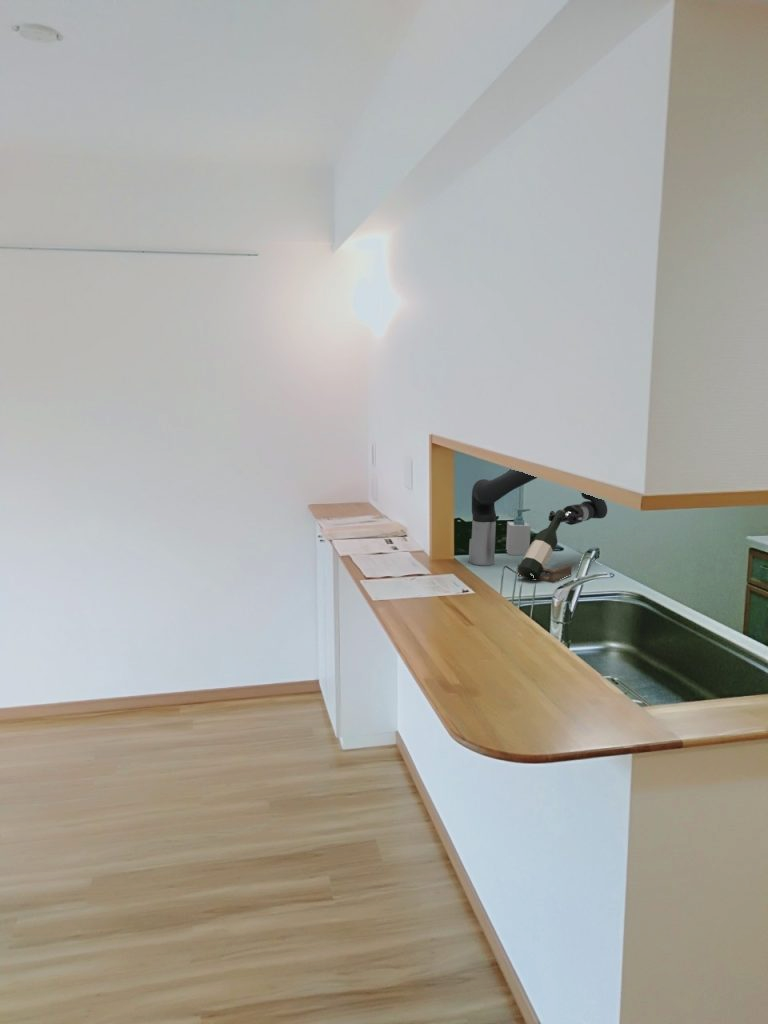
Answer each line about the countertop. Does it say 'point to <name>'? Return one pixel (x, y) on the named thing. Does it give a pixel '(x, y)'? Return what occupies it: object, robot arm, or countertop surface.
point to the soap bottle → (518, 535)
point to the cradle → (554, 573)
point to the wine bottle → (540, 549)
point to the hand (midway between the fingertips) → (554, 519)
